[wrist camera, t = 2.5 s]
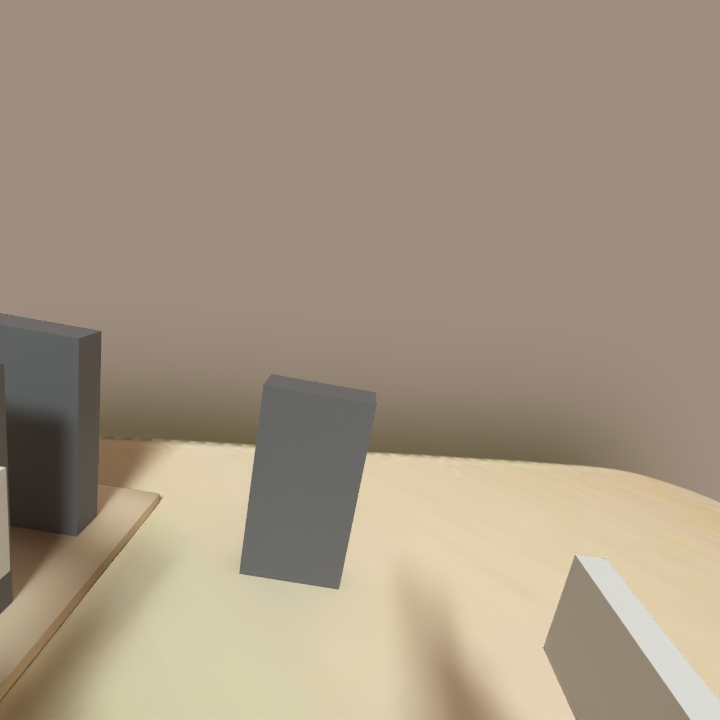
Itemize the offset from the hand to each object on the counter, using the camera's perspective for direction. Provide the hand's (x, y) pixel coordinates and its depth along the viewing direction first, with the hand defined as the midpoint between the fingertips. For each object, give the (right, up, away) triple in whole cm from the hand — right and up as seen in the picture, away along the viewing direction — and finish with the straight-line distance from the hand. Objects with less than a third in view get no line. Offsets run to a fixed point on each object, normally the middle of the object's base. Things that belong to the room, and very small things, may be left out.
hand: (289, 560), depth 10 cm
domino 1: (-15, -3, +11) cm, 19 cm away
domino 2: (-2, -6, +12) cm, 14 cm away
